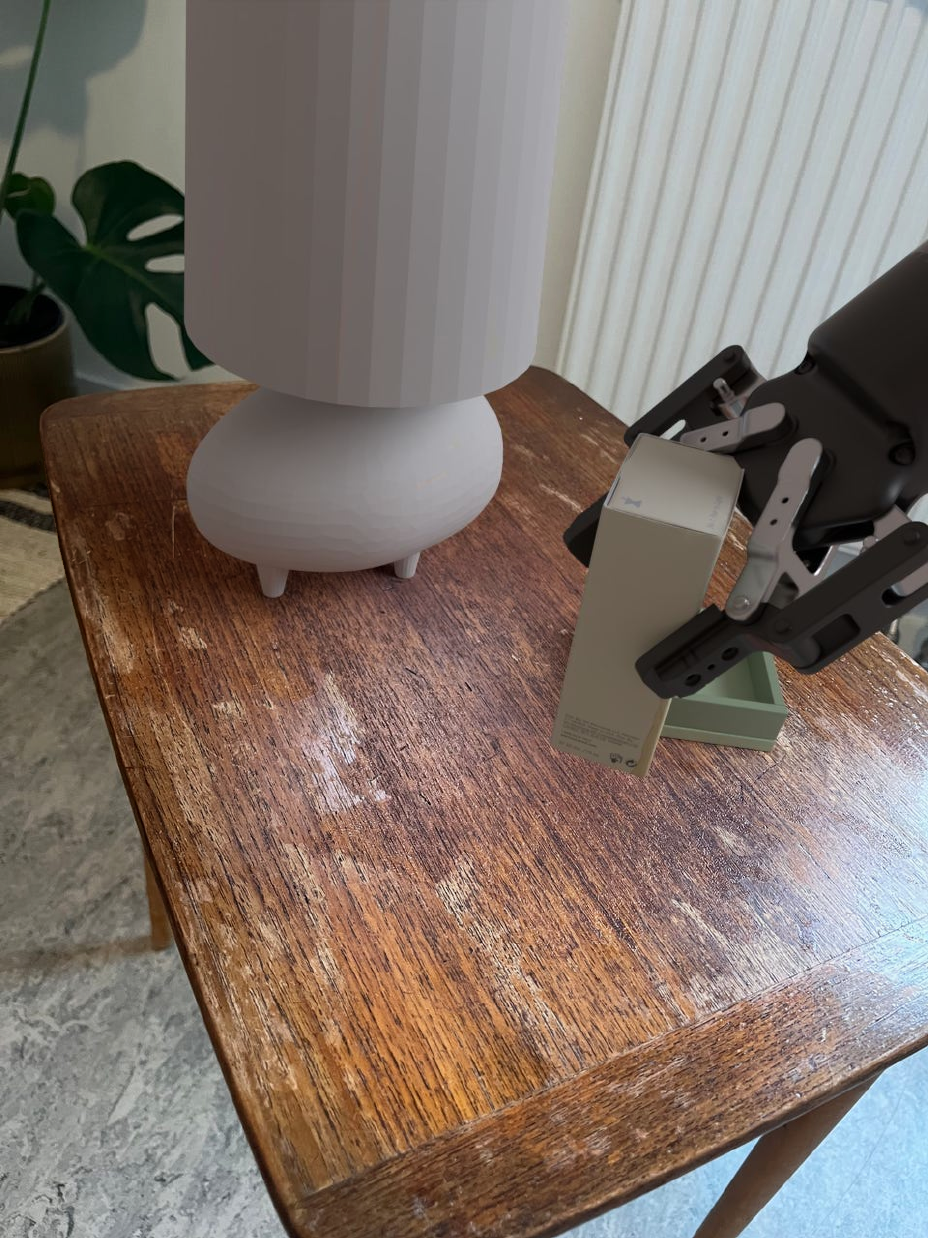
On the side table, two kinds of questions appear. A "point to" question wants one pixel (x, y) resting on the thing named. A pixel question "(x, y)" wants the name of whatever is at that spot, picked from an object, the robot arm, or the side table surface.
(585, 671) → the cosmetic box
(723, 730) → the green open storage bin
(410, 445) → the table lamp
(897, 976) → the side table surface
